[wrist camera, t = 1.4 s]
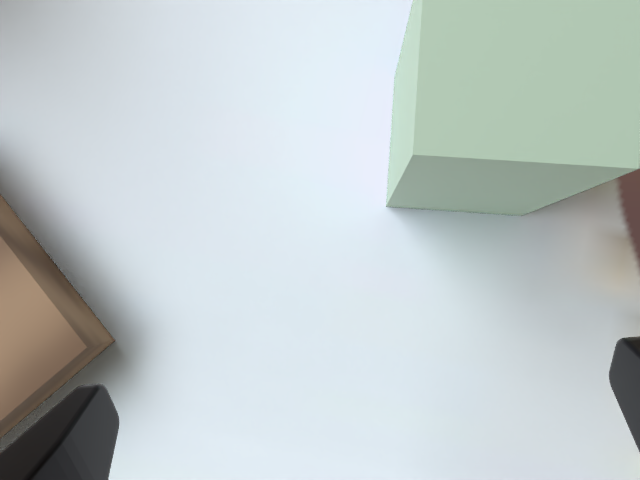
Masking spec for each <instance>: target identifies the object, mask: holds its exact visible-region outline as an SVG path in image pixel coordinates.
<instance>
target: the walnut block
mask: <svg viewBox="0 0 640 480" xmlns="http://www.w3.org/2000/svg"><path fill="white" fill-rule="evenodd" d="M114 341H115V340H114V339H113V337H112V336H111V335H110V333H109V332H108V331H107V330H106V328H105V327H104V326H103V325H102V323H101V322H100V321H99V319H98V318H97V317H96V316H95V314H94V313H93V312H92V311H91V309H90V308H89V307H88V305H87V304H86V303H85V302H84V300H83V299H82V298H81V297H80V295H79V294H78V293H77V291H76V290H75V289H74V288H73V286H72V285H71V284H70V283H69V281H68V280H67V279H66V277H65V276H64V275H63V274H62V272H61V271H60V270H59V269H58V267H57V266H56V265H55V263H54V262H53V261H52V260H51V258H50V257H49V256H48V254H47V253H46V252H45V251H44V249H43V248H42V247H41V246H40V244H39V243H38V242H37V240H36V239H35V238H34V237H33V235H32V234H31V233H30V232H29V230H28V229H27V228H26V226H25V225H24V224H23V223H22V221H21V220H20V219H19V218H18V216H17V215H16V214H15V212H14V211H13V210H12V209H11V207H10V206H9V205H8V204H7V202H6V201H5V200H4V198H3V197H2V196H1V195H0V438H1V437H3V436H4V435H5V434H6V433H7V432H8V431H10V430H11V429H12V428H13V427H14V426H15V425H17V424H18V423H19V422H20V421H21V420H23V419H24V418H25V417H26V416H27V415H28V414H30V413H31V412H32V411H33V410H34V409H35V408H37V407H38V406H39V405H40V404H41V403H42V402H44V401H45V400H46V399H47V398H48V397H50V396H51V395H52V394H53V393H54V392H55V391H57V390H58V389H59V388H60V387H61V386H62V385H64V384H65V383H66V382H67V381H68V380H69V379H71V378H72V377H73V376H74V375H75V374H77V373H78V372H79V371H80V370H81V369H82V368H84V367H85V366H86V365H87V364H88V363H89V362H91V361H92V360H93V359H94V358H95V357H96V356H98V355H99V354H100V353H101V352H102V351H104V350H105V349H106V348H107V347H108V346H109V345H111V344H112V343H113V342H114Z"/></svg>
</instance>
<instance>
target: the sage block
mask: <svg viewBox="0 0 640 480" xmlns="http://www.w3.org/2000/svg"><path fill="white" fill-rule="evenodd" d="M639 162H640V0H413V2H412V7H411V11H410V15H409V19H408V23H407V27H406V32H405V36H404V40H403V44H402V48H401V53H400V57H399V61H398V65H397V69H396V74H395V78H394V92H393V107H392V123H391V138H390V153H389V168H388V183H387V199H386V207H399V208H414V209H428V210H443V211H458V212H472V213H487V214H502V215H516V216H523V215H525V214H528V213H530V212H533V211H535V210H538V209H540V208H543V207H545V206H548V205H550V204H553V203H555V202H558V201H560V200H563V199H565V198H568V197H570V196H573V195H575V194H578V193H580V192H583V191H585V190H588V189H590V188H593V187H595V186H598V185H600V184H603V183H605V182H608V181H610V180H613V179H615V178H618V177H620V176H622V175H625V174H627V173H630V172H633V171H635V170H637V169H639V164H640V163H639Z"/></svg>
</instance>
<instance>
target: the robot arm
mask: <svg viewBox="0 0 640 480" xmlns="http://www.w3.org/2000/svg"><path fill="white" fill-rule="evenodd" d="M609 380H610V384H611V387H612V390H613V392H614V394H615V397H616V399H617V401H618V404H619V406H620V408H621V411H622V413H623V415H624V417H625V420H626V422H627V424H628V427H629V429H630V431H631V434H632V436H633V438H634V440H635V443H636V445H637V447H638V450H639V452H640V336H639V337H628V338H622V339H620V340H619V341H618V342H617V344H616V347H615V351H614V355H613V359H612V363H611V367H610V371H609ZM118 429H119V416H118V413H117V411H116V408H115V406H114V404H113V402H112V400H111V397H110V395H109V393H108V391H107V389H106V387H105V386H104V385H102V384H90V385H82V386H79V387H77V388H76V389H74V390H73V391H72V392H71V393H70V394H69V395H67V396H66V397H65V398H64V399H63V400H62V401H60V402H59V403H58V404H57V405H56V406H55V407H53V408H52V409H51V410H50V411H49V412H48V413H46V414H45V415H44V416H43V417H42V418H41V419H39V420H38V421H37V422H36V423H35V424H34V425H32V426H31V427H30V428H29V429H28V430H27V431H25V432H24V433H23V434H22V435H21V436H20V437H18V438H17V439H16V440H15V441H14V442H13V443H11V444H10V445H9V446H8V447H7V448H6V449H4V450H3V451H2V452H1V453H0V480H108V477H109V473H110V468H111V463H112V458H113V453H114V448H115V444H116V439H117V434H118Z"/></svg>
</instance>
